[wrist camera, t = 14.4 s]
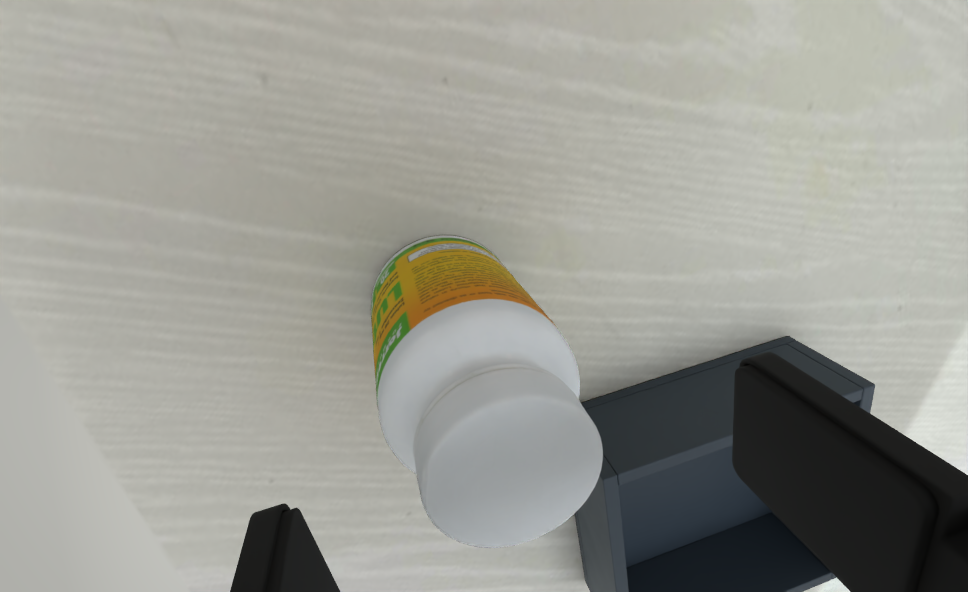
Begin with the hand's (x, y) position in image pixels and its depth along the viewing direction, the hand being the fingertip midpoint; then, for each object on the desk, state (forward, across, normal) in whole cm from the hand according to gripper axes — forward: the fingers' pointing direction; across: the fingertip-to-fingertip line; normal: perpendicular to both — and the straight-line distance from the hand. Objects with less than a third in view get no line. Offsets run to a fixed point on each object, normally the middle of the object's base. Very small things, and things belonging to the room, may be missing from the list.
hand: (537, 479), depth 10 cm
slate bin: (+10, -9, +13) cm, 19 cm away
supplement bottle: (+10, +1, 0) cm, 10 cm away
